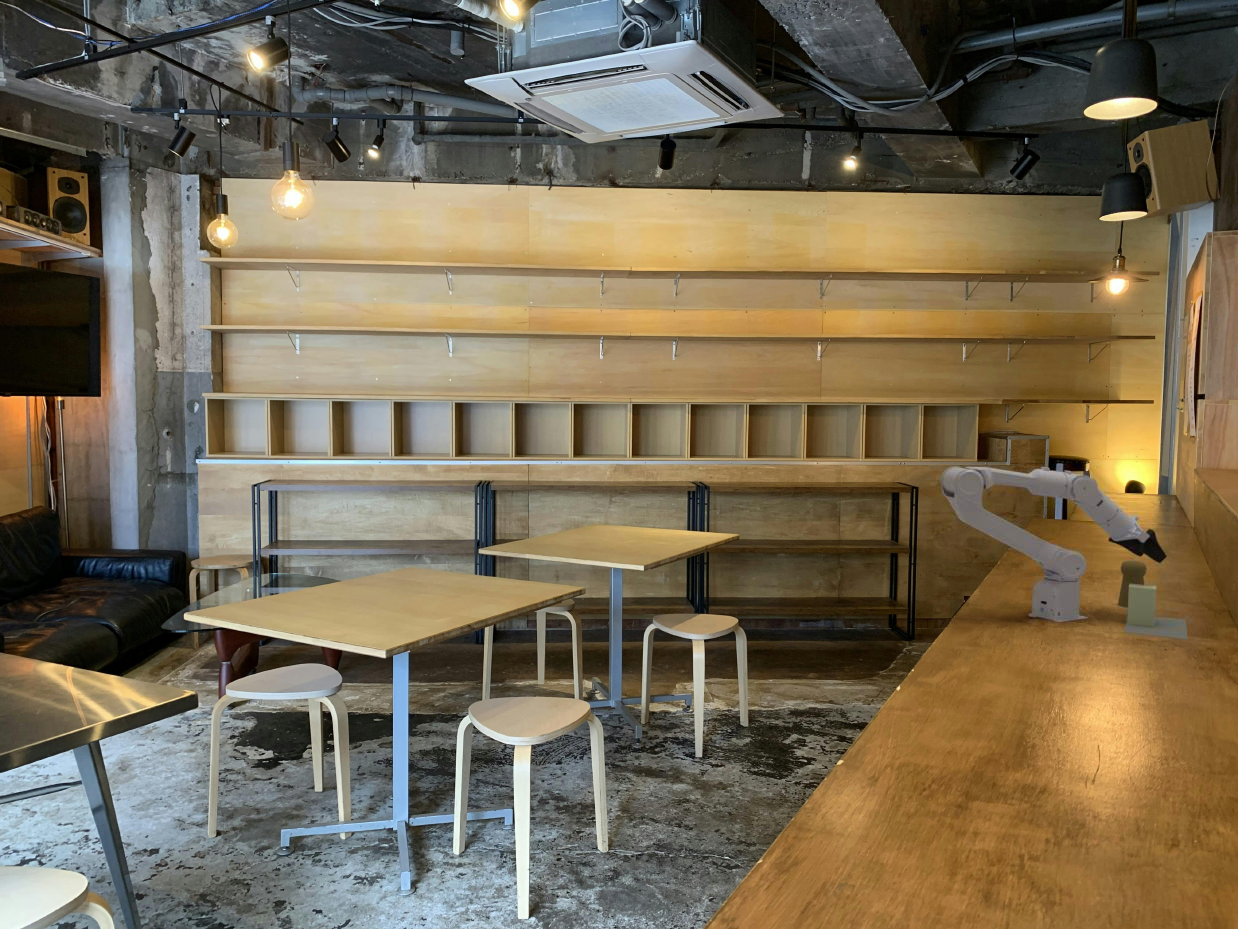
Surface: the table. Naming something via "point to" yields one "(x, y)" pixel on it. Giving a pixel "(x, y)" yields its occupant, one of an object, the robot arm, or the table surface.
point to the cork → (1130, 579)
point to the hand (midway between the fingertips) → (1152, 556)
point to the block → (1141, 605)
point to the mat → (1161, 628)
